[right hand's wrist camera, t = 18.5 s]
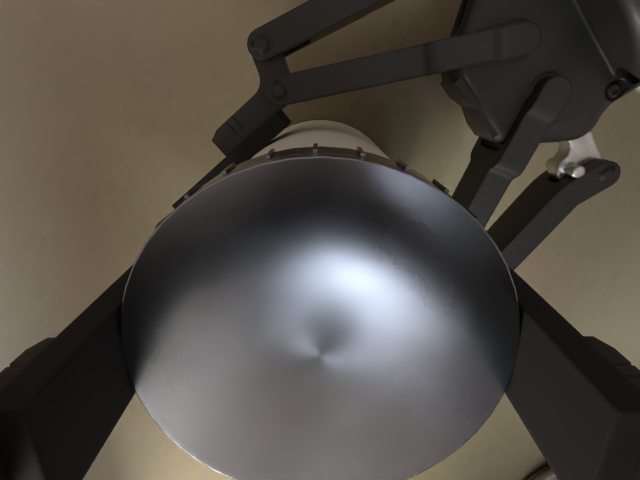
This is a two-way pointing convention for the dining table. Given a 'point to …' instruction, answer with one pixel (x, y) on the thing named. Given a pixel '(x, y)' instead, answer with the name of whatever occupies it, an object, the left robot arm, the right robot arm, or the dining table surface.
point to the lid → (320, 319)
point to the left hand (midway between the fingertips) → (256, 275)
